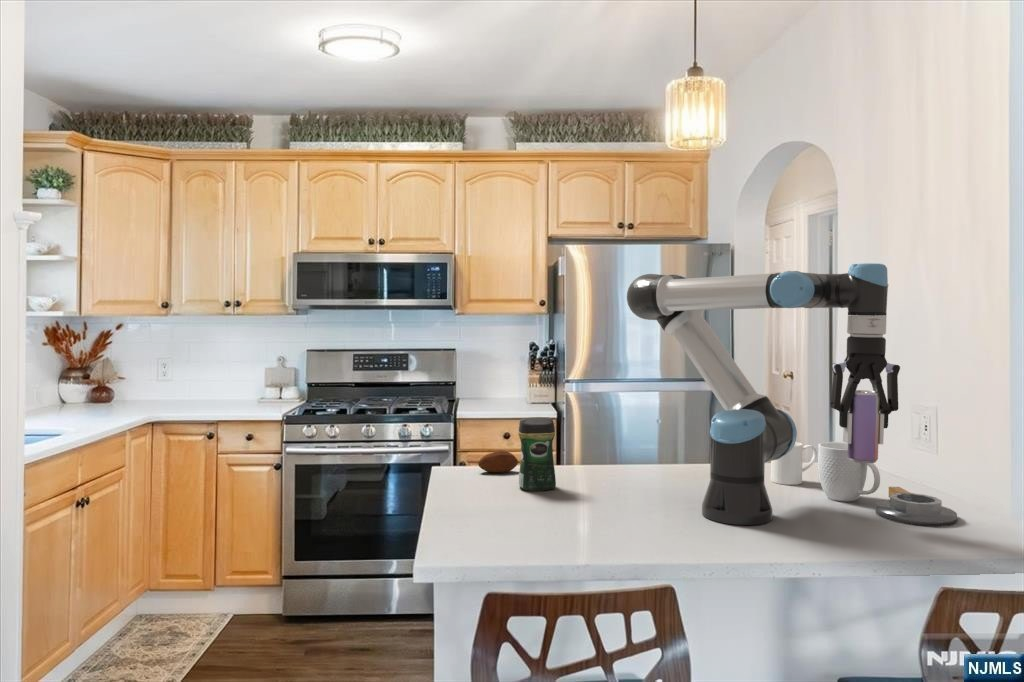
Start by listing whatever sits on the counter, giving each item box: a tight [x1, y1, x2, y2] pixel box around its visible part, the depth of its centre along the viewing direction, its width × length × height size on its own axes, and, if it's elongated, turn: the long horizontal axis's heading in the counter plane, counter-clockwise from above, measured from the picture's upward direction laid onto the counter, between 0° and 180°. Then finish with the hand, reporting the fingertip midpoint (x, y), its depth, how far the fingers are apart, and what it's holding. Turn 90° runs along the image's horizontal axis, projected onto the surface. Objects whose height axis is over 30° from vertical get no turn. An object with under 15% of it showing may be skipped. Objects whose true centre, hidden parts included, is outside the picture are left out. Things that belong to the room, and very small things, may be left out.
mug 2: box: [817, 441, 881, 502], centre depth 178 cm, size 15×11×13 cm
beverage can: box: [847, 389, 880, 464], centre depth 157 cm, size 6×6×15 cm
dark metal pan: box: [875, 486, 958, 528], centre depth 165 cm, size 16×19×4 cm
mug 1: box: [770, 441, 818, 486], centre depth 197 cm, size 12×8×10 cm, turn 96°
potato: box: [477, 449, 519, 474], centre depth 209 cm, size 6×12×6 cm, turn 101°
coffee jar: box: [517, 416, 557, 492], centre depth 190 cm, size 10×8×19 cm
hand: (862, 442), depth 157 cm, fingers closed on beverage can, 6 cm apart
